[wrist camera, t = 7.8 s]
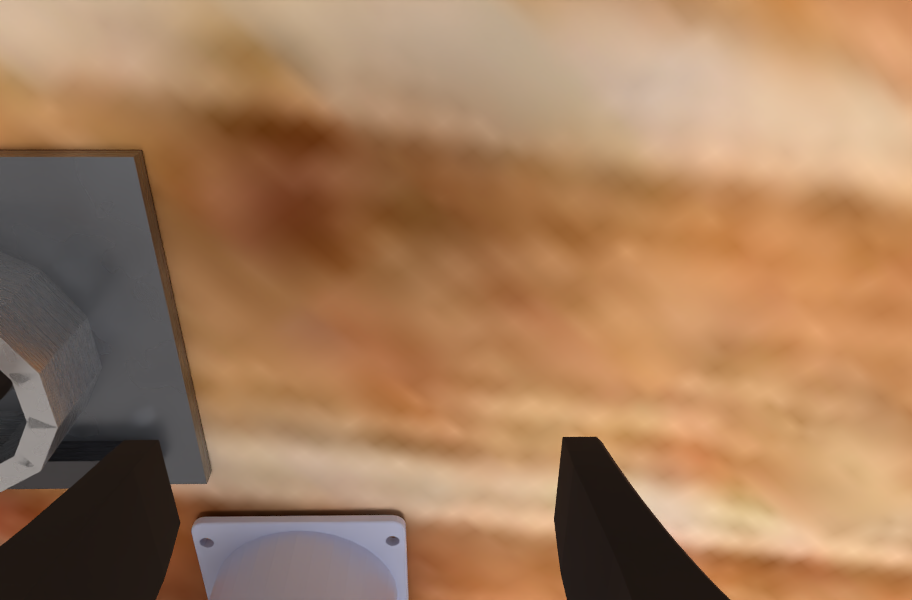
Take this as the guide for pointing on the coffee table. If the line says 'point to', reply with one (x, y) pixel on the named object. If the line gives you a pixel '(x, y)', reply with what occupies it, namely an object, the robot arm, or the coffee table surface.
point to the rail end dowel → (5, 385)
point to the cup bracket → (88, 322)
